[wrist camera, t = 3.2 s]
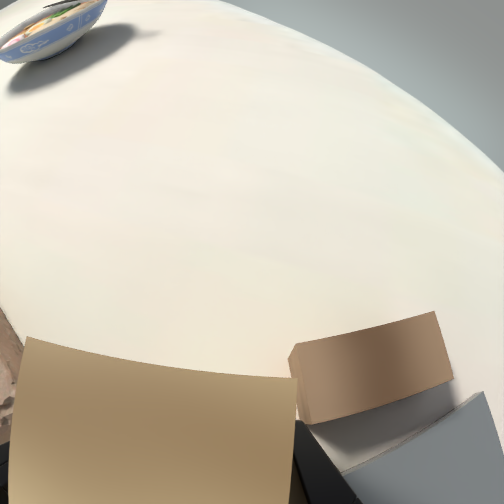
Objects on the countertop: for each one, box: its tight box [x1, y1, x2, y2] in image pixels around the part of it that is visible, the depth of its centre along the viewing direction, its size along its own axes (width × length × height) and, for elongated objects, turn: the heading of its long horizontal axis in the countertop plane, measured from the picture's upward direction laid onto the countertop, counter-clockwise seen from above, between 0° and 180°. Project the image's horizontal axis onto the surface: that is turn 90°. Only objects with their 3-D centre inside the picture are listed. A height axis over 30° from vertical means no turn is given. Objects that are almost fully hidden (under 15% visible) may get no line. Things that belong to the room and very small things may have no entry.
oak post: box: [8, 336, 298, 504], centre depth 8 cm, size 4×4×12 cm
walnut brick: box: [288, 311, 454, 424], centre depth 14 cm, size 7×4×4 cm, turn 99°
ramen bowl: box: [0, 0, 107, 64], centre depth 36 cm, size 25×23×8 cm
